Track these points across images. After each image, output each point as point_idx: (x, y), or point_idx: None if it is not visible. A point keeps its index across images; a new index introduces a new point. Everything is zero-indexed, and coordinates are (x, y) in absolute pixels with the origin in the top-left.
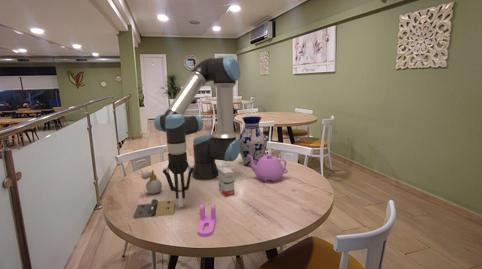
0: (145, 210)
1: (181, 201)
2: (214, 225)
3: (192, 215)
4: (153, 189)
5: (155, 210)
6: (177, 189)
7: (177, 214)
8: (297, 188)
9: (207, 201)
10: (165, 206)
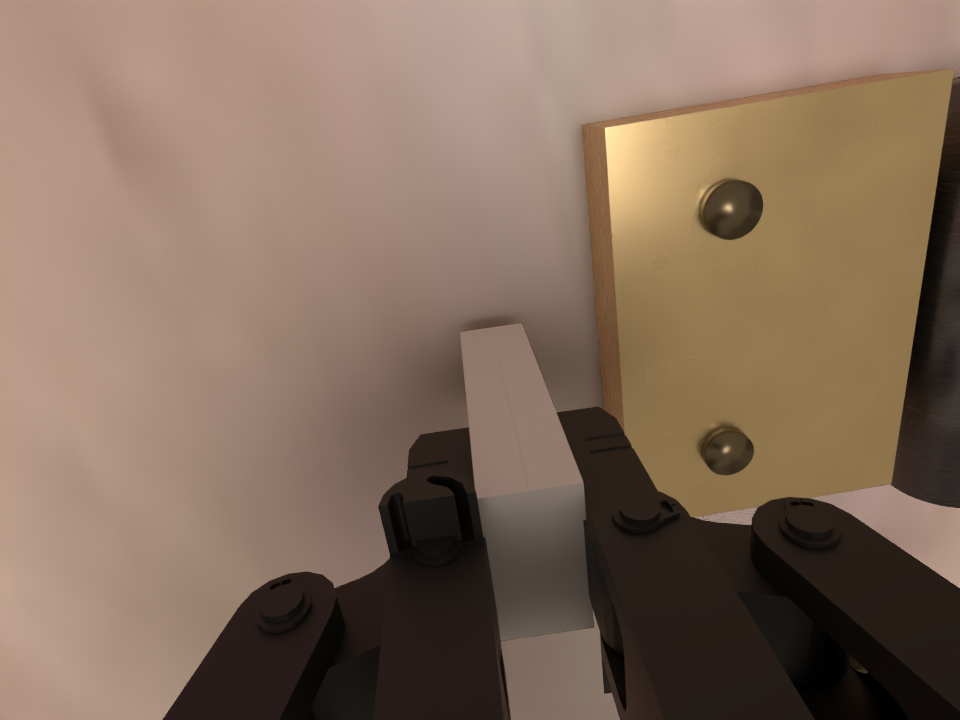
0: None
1: (482, 368)
2: None
3: (226, 67)
4: None
5: (945, 163)
6: (625, 555)
7: (518, 130)
8: None
9: (132, 548)
10: (771, 297)
